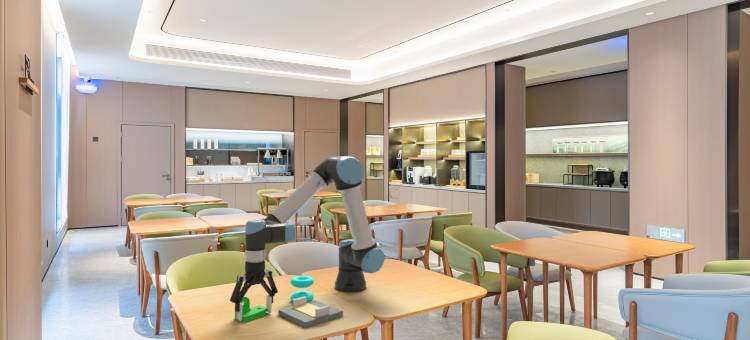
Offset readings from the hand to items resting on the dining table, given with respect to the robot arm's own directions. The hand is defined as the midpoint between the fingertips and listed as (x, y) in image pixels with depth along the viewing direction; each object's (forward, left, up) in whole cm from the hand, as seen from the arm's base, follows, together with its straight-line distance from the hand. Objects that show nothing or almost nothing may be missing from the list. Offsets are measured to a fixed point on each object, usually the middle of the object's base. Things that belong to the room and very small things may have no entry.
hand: (254, 315), depth 172 cm
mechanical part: (0, -2, -1) cm, 2 cm away
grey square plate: (-17, +13, 0) cm, 22 cm away
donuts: (-25, -4, -1) cm, 26 cm away
